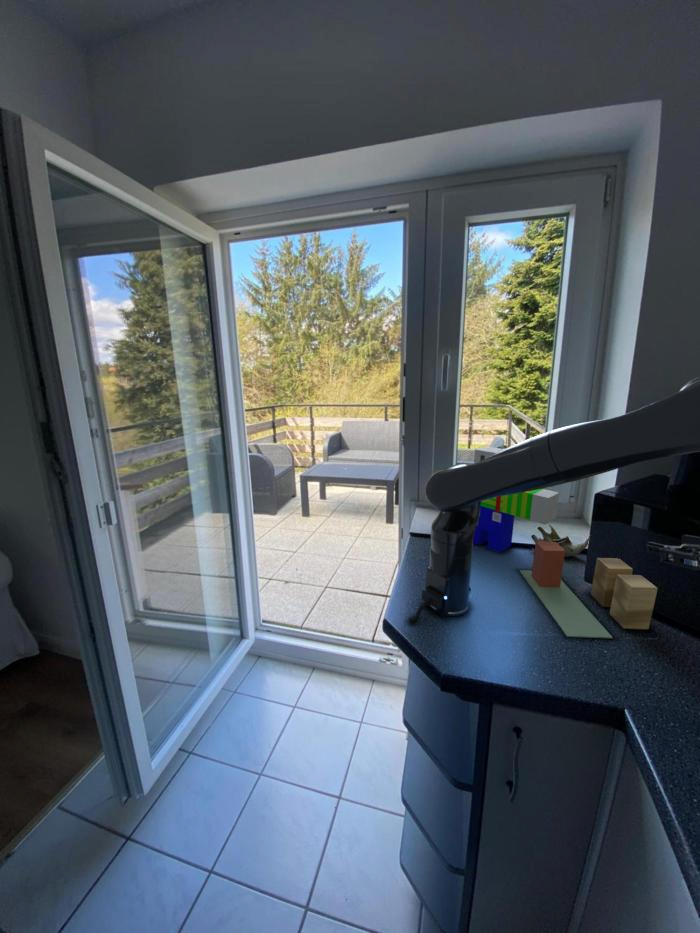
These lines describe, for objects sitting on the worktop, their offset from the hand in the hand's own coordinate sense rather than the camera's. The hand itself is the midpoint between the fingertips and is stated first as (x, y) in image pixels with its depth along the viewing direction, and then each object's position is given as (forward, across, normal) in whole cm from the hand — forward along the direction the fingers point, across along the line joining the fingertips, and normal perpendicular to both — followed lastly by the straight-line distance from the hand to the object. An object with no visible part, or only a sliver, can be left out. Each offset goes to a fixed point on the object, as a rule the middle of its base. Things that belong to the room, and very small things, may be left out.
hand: (665, 543), depth 73 cm
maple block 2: (+7, +2, +19) cm, 20 cm away
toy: (+47, +10, +9) cm, 49 cm away
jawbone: (+37, -6, +13) cm, 39 cm away
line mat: (+17, +11, +16) cm, 26 cm away
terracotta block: (+24, +9, +14) cm, 29 cm away
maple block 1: (+14, 0, +17) cm, 22 cm away
